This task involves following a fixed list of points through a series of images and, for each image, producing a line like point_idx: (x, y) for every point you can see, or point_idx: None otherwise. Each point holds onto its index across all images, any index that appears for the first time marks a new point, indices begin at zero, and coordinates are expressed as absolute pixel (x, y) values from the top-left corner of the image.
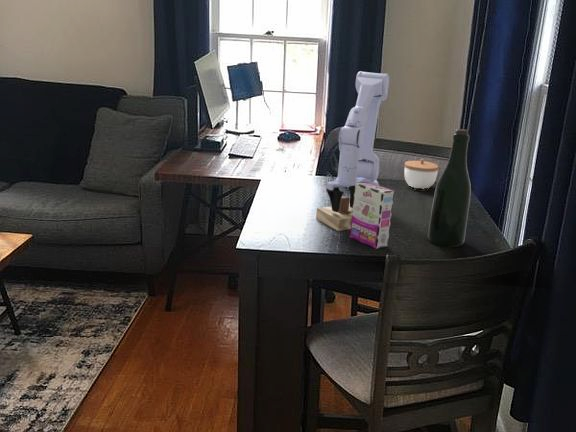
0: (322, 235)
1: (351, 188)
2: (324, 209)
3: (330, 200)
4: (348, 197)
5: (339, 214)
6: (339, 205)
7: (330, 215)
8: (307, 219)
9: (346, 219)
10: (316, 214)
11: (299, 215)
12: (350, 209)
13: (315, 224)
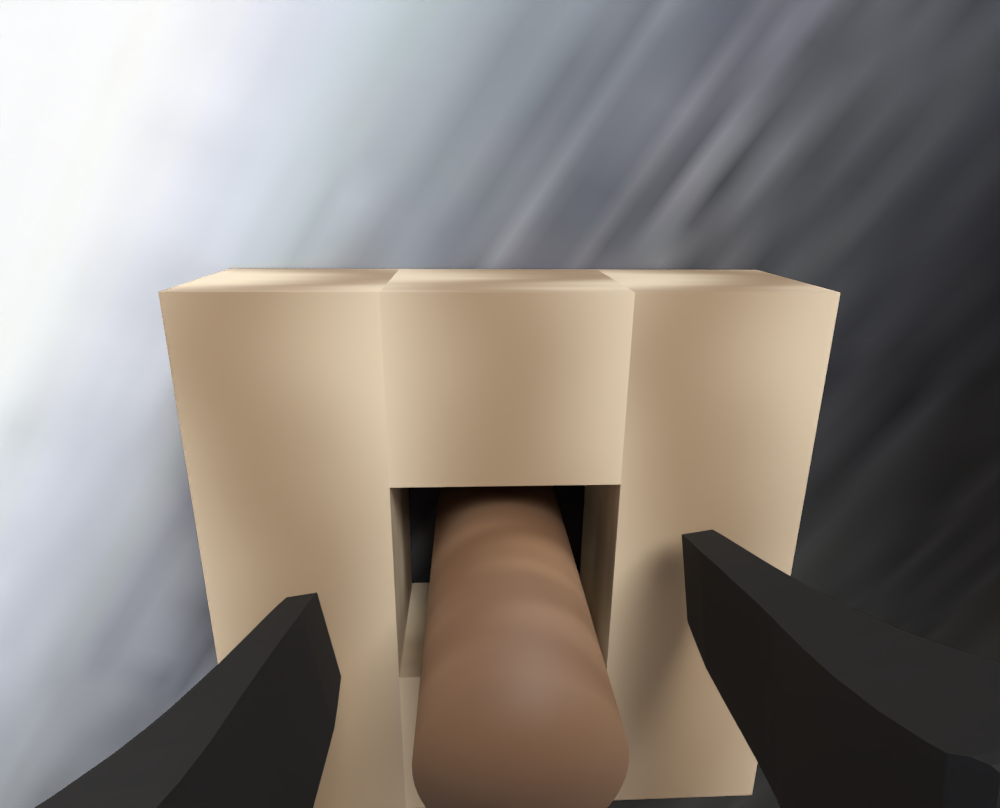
0: (55, 752)
1: (882, 805)
2: (256, 408)
3: (170, 715)
4: (601, 779)
5: (363, 666)
6: (313, 794)
7: (217, 653)
8: (92, 251)
9: (362, 801)
10: (205, 279)
11: (35, 29)
12: (671, 530)
13: (122, 458)
